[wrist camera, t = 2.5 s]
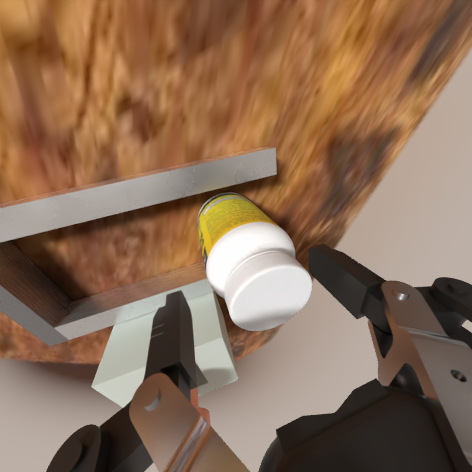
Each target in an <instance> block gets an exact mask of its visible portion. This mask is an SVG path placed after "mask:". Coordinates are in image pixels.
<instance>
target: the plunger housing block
mask: <svg viewBox="0 0 472 472" xmlns="http://www.w3.org/2000/svg"><path fill="white" fill-rule="evenodd" d="M186 301H187V303H188V305H189V307H190V310H191V314H192V322H193V335H194V349H195V362H196V374H197V389H198V397H199V396H201V395H203V394H206V393H208V392H210V391H213V390H215V389H217V388H220V387H222V386H225V385H227V384H229V383H232V382H234V381H236V380H238V375H237V371H236V367H235V363H234V358H233V354H232V350H231V346H230V342H229V338H228V333H227V329H226V325H225V321H224V317H223V313H222V311H221V308H220V305H219V302H218V299H217V296H216V293H215V291H213V292H210V293H207V294H204V295H201V296H198V297H195V298H192V299H189V300H186ZM156 312H157V310H156V311H153V312H150V313H148V314H145V315H142V316H139V317H136V318H133V319H130V320H127V321H124V322H121V323H118V324H115V325H114V327H113V330H112V333H111V335H110V338H109V341H108V343H107V346H106V349H105V351H104V354H103V357H102V360H101V362H100V365H99V368H98V370H97V373H96V376H95V378H94V381H93V384H92V388H94V389H95V390H97V391H98V392H100V393H101V394H103V395H104V396H106V397H107V398H109V399H111V400H112V401H114V402H115V403H117V404H118V405H120V406H121V407H123V408H124V407H125V406H126V405H127V404H128V403H129V402H130V401H131V400H132V398H133V395H134V394H135V392H136V390H137V389H138V387H139V386H140V385H141V383H142V382H143V379H144V375H145V369H146V363H147V356H148V349H149V343H150V339H151V337H150V336H151V330H152V323H153V317H154V315H155V314H156Z"/></svg>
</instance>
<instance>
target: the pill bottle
mask: <svg viewBox="0 0 472 472" xmlns="http://www.w3.org/2000/svg"><path fill="white" fill-rule="evenodd" d="M197 227H198V233H199V238H200V243H201V249H202V254H203V259H204V264H205V270H206V273H207V277H208V280H209V283H210V285H211V287H212V288H213V290H214V291H215V292H216V293H217V294H218V295H219V296H221V297H222V298H224V299H225V301H226V304H227V307H228V310H229V314H230V317H231V319H232V320H233V322H234V323H235V324H236V325H237V326H239V327H240V328H242V329H245V330H250V331H262V330H267V329H271V328H274V327H276V326H279V325H281V324H283V323H285V322H286V321H288V320H289V319H291V318H292V317H294V316H295V315H296V314H297V313H298V312H299V311H300V310H301V309H302V308H303V307H304V305H305V304H306V302H307V301H308V299H309V296H310V294H311V291H312V280H311V277H310V275H309V273H308V272H307V271H306V270H305V269H304V268H303V266H302V265H301V264H300V263H299V262H298V261H297V260H296V259H295V248H294V245H293V242H292V240H291V239H290V237H289V236H288V234H287V233H286V232H285V231H284V230H283V229H282V228H280V227H279V226H278V225H277V224H276V223H275V222H273V221H272V220H271V219H270V218H269V217H268V216H267V215H265V214H264V213H263V212H262V211H261V210H260V209H259V208H257V207H256V206H255V205H254V204H253V203H252V202H251V201H249V200H248V199H247V198H246V197H244V196H242V195H240V194H237V193H233V192H225V193H220V194H217V195H215V196H213V197H211V198H210V199H209V200H207V201H206V202H205V203H204V205H203V206H202V208H201V209H200V212H199V214H198V219H197Z"/></svg>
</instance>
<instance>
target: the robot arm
mask: <svg viewBox="0 0 472 472" xmlns="http://www.w3.org/2000/svg"><path fill="white" fill-rule="evenodd" d="M309 270H310V273H311V274H312V276H313V277H314V278H315V279H316V280H318V281H319V282H320V283H321V284H322V285H323V286H324V287H325V288H326V289H327V290H328V291H329V292H330V293H331V294H332V295H333V296H334V297H335V298H336V299H337V300H338V301H339V302H340V303H341V304H342V305H343V306H344V307H345V308H346V309H347V310H348V311H349V312H350V313H351V314H352V315H353V316H354V317H355V318H356V319H359V318H361V317H364V316H366V317H367V318H368V319H369V320H368V326H369V329H370V333H371V337H372V340H373V344H374V348H375V352H376V355H377V359H378V380H379V381H378V380H377V379H374V380H372V381H370V382H368V383H366V384H364V385H362V386H360V387H359V388H356V389H354V390H353V391H352V393H351V394H350V395H349V396H348V398H347V399H346V400H345V401H344V403H343V404H342V405H341V407H340V408H339V409H338V410H337V411H336V412H335V413H331V414H320V415H308V416H302V417H300V418H298V419H296V420H294V421H292V422H290V423H288V424H286V425H284V426H282V427H280V428H278V429H276V434H277V438H276V439H275V440H274V441H273V442H272V443H271V445H270V447H269V448H268V450H267V451H266V453H265V456H264V458H263V460H262V463H261V465H260V468H259V472H472V333H471V332H470V331H468V330H467V329H465V328H464V327H462V324H463V323H464V322H465V321H466V320H469V321H470V322H472V285H471V284H469V283H466V282H464V281H461V280H458V279H454V278H447V277H441V278H437V279H436V280H435V281H434V283H433V285H432V286H431V287H430V286H429V287H412V286H410V285H408V284H406V283H403V282H399V281H386V280H384V279H383V278H381V277H380V276H378V275H377V274H375V273H374V272H372V271H371V270H369V269H367V268H366V267H364V266H363V265H361V264H360V263H358V262H356V261H355V260H354V259H351V257H349V256H348V255H346V254H345V253H343V252H340V251H337V250H335V249H333V250H332V249H331V248H329V247H328V246H326V245H325V244H321V245H318V246H315V247H312V248H311V249H310V255H309ZM150 337H151V339H150V343H149V349H148V356H147V363H146V369H145V375H144V379H143V382H142V383H141V385H140V386H139V387H138V389H137V390H136V392H135V394H134V395H133V398H132V400H131V401H130V402H129V403H128V404H127V405H126V406H125V407H124V408H122V409H121V410H120V411H118V412H117V413H116V414H115V415H113V416H112V417H111V418H110V419H109V420H107V421H106V422H105V423H103V424H102V425H101V426H100V427H98V426H96V425H92V424H91V425H86V426H84V427H82V428H80V429H78V430H77V431H76V432H74V433H73V434H72V435H71V436H70V437H69V438H68V439H67V440H66V441H65V442H64V444H63V445H62V446H61V447H60V449H59V450H58V451H57V453H56V454H55V456H54V457H53V459H52V461H51V463H50V465H49V467H48V469H47V471H46V472H144V471H145V470H146V469H147V468H148V467H149V466H150V465H151V464H152V463H153V462H154V463H155V465H156V467H157V469H158V471H159V472H250V471H249V470H248V469H247V467H246V466H245V465H244V464H243V463H242V462H241V460H240V459H239V458H238V457H237V456H236V455H235V454H234V452H233V451H232V450H231V449H230V448H229V446H228V445H227V444H226V443H225V442H224V441H223V440H222V438H221V437H220V436H219V435H218V434H217V433H216V431H215V430H214V429H213V428H212V427H211V426H210V424H209V423H208V422H207V421H206V420H205V419H204V418H203V417H202V415H201V414H200V413H199V412H198V411H197V410H196V408H195V407H194V406H193V405H192V404H191V392H190V390H192V389H194V388H196V387H197V375H196V362H195V349H194V335H193V322H192V314H191V310H190V307H189V305H188V303H187V301H186V299H185V296H184V294H183V292H182V291H181V290H179V291H176V292H173V293H170V294H167V295H166V304H165V306H163V307H160V308H158V310H157V312H156V314H155V315H154V317H153V323H152V330H151V336H150Z"/></svg>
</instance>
